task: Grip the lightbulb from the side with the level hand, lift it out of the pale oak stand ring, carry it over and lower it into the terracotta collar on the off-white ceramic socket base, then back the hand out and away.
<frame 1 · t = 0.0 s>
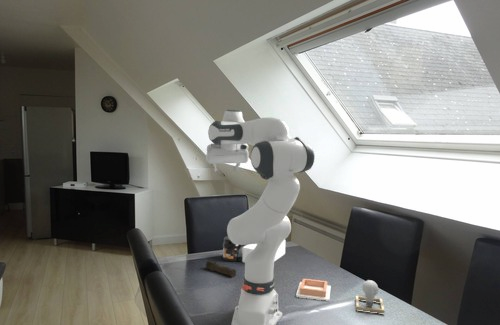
hand: (225, 171, 167), 52 cm above the table, tool tilted 20°, fingers open, 8 cm apart
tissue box: (264, 258, 200), on the table
hand tool: (218, 273, 177), on the table
supplement container: (232, 259, 197), on the table
socket: (313, 292, 156), on the table
stand ring: (369, 307, 143), on the table
lightbulb: (369, 307, 143), resting in stand ring
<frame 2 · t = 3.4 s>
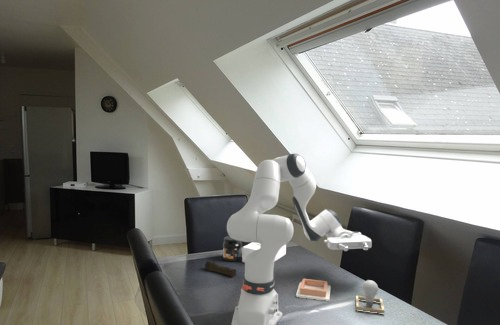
hand: (356, 248, 154), 20 cm above the table, tool horizontal, fingers open, 8 cm apart
nothing on the table moved.
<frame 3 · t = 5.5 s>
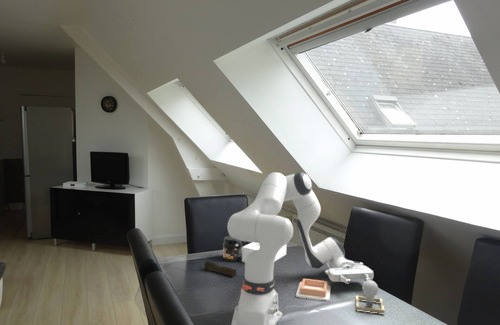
hand: (358, 281, 152), 7 cm above the table, tool horizontal, fingers open, 8 cm apart
nothing on the table moved.
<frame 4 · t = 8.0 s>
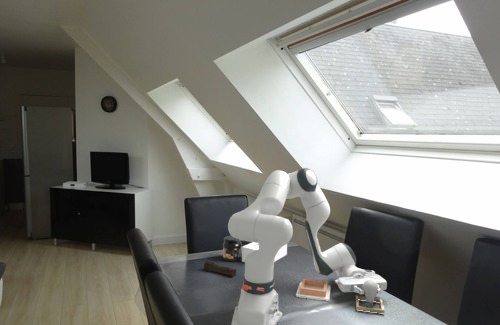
hand: (371, 292, 142), 7 cm above the table, tool horizontal, fingers closed on lightbulb, 6 cm apart
lightbulb: (369, 307, 143), resting in stand ring, touching gripper
everything else where it was.
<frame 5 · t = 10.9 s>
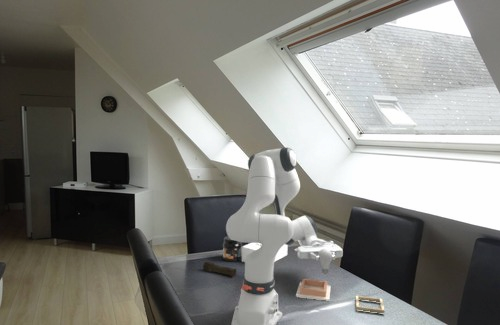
hand: (325, 258, 151), 17 cm above the table, tool horizontal, fingers closed on lightbulb, 6 cm apart
lightbulb: (325, 274, 152), point 9 cm above the table, touching gripper
when the fingers open (9 cm above the table, at t = 13.8 s): lightbulb moves 1 cm, resting on socket.
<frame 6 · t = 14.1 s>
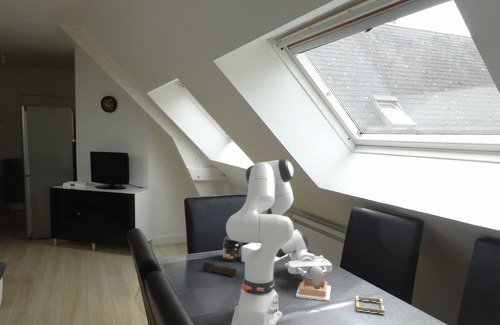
hand: (315, 273, 154), 9 cm above the table, tool horizontal, fingers open, 8 cm apart
lightbulb: (316, 290, 156), point 1 cm above the table, touching gripper, socket
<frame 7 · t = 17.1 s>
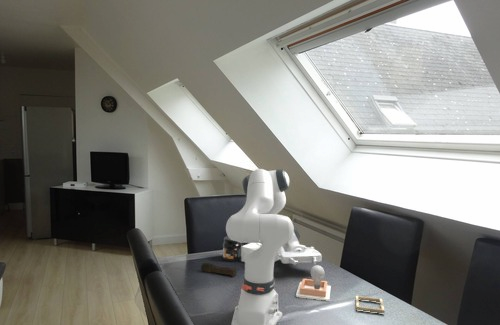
hand: (305, 262, 167), 9 cm above the table, tool horizontal, fingers open, 8 cm apart
lightbulb: (316, 290, 156), point 1 cm above the table, touching socket
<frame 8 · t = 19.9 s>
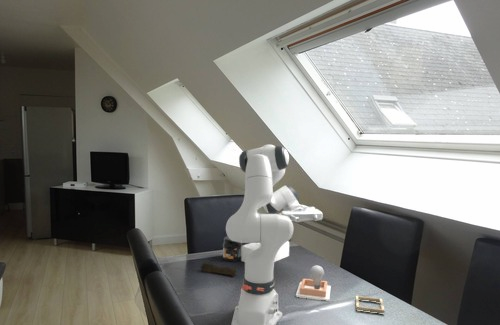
hand: (306, 219, 166), 30 cm above the table, tool horizontal, fingers open, 8 cm apart
at the end: lightbulb 1.4 cm off-centre on the socket, point 0.8 cm above the socket's base; lightbulb tilted 1°; the gripper is holding nothing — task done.
